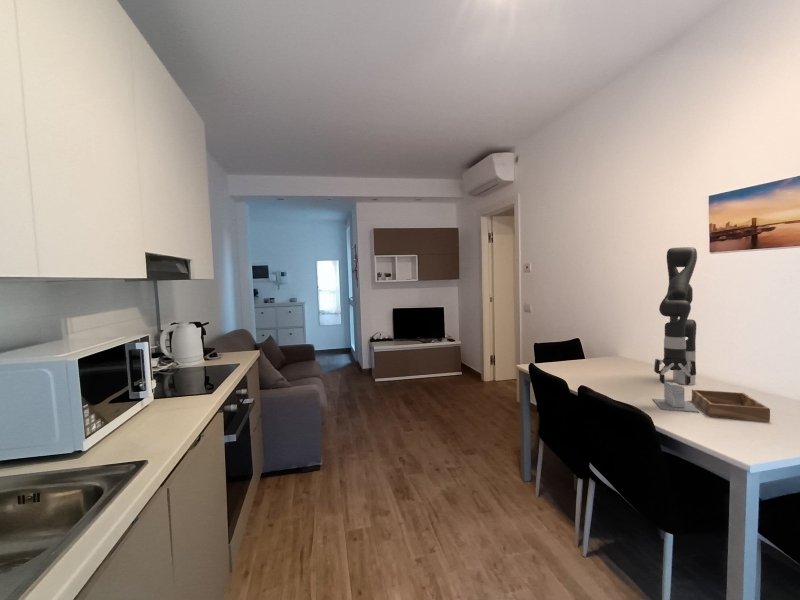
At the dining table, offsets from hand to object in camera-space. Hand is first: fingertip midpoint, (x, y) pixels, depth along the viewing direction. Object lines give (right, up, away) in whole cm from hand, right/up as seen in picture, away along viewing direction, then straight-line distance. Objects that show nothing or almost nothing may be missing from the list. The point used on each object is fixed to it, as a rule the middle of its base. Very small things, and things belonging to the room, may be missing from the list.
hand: (674, 383), depth 155 cm
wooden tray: (+17, -10, -7) cm, 20 cm away
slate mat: (0, -10, 0) cm, 10 cm away
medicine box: (0, -9, 0) cm, 9 cm away
